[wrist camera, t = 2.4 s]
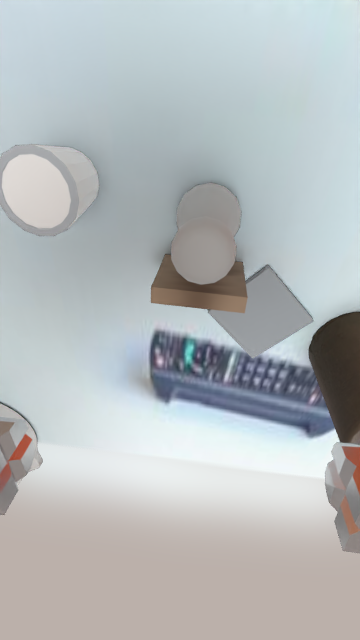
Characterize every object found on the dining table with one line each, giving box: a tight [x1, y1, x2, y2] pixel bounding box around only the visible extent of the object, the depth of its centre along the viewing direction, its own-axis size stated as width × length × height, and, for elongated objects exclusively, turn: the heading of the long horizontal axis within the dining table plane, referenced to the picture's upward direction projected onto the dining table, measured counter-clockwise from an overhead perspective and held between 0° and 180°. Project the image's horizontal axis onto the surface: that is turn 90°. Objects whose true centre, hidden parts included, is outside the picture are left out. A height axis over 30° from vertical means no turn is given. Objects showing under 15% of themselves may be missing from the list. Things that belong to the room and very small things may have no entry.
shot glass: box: [0, 144, 99, 236], centre depth 29 cm, size 7×7×7 cm
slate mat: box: [208, 265, 313, 358], centre depth 37 cm, size 8×8×1 cm
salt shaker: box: [171, 183, 241, 285], centre depth 27 cm, size 6×6×13 cm
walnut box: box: [151, 254, 248, 313], centre depth 32 cm, size 8×2×8 cm, turn 86°
